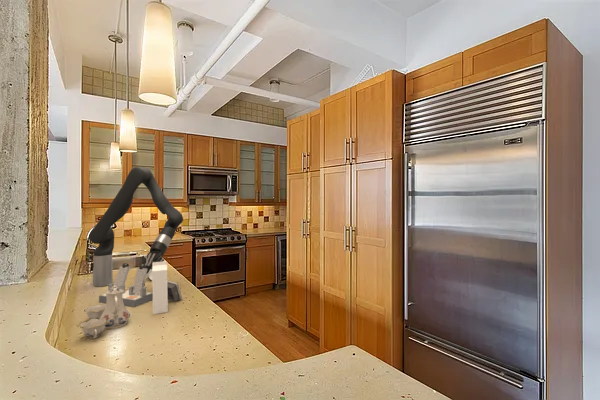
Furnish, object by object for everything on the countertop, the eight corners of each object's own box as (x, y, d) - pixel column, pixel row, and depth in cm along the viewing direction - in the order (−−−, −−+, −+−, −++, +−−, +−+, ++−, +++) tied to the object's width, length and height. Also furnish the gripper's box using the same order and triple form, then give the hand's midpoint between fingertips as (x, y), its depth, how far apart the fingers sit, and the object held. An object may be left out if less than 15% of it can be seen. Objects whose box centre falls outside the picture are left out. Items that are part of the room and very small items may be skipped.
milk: (167, 312, 140) (167, 262, 139) (152, 314, 138) (152, 263, 137) (167, 307, 146) (167, 259, 145) (152, 309, 143) (152, 261, 143)
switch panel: (99, 302, 153) (98, 287, 153) (120, 294, 165) (119, 280, 164) (135, 307, 146) (134, 291, 146) (154, 298, 158) (154, 284, 158)
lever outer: (131, 293, 153) (136, 263, 156) (136, 292, 156) (141, 263, 159) (139, 294, 151) (144, 264, 154) (144, 293, 154) (149, 264, 157)
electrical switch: (182, 300, 156) (181, 281, 155) (173, 304, 151) (171, 285, 151) (171, 296, 161) (169, 279, 160) (161, 300, 157) (159, 282, 156)
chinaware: (82, 323, 133) (76, 284, 131) (127, 310, 142) (122, 274, 141) (82, 350, 110) (75, 303, 108) (136, 333, 119) (130, 290, 118)
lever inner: (110, 289, 157) (120, 261, 162) (115, 290, 160) (124, 263, 165) (118, 290, 155) (128, 262, 161) (123, 291, 158) (132, 263, 163)
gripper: (146, 240, 167) (128, 268, 156) (167, 241, 163) (150, 270, 152) (154, 248, 173) (137, 276, 161) (174, 249, 169) (159, 278, 157)
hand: (144, 273), depth 157 cm, fingers closed
